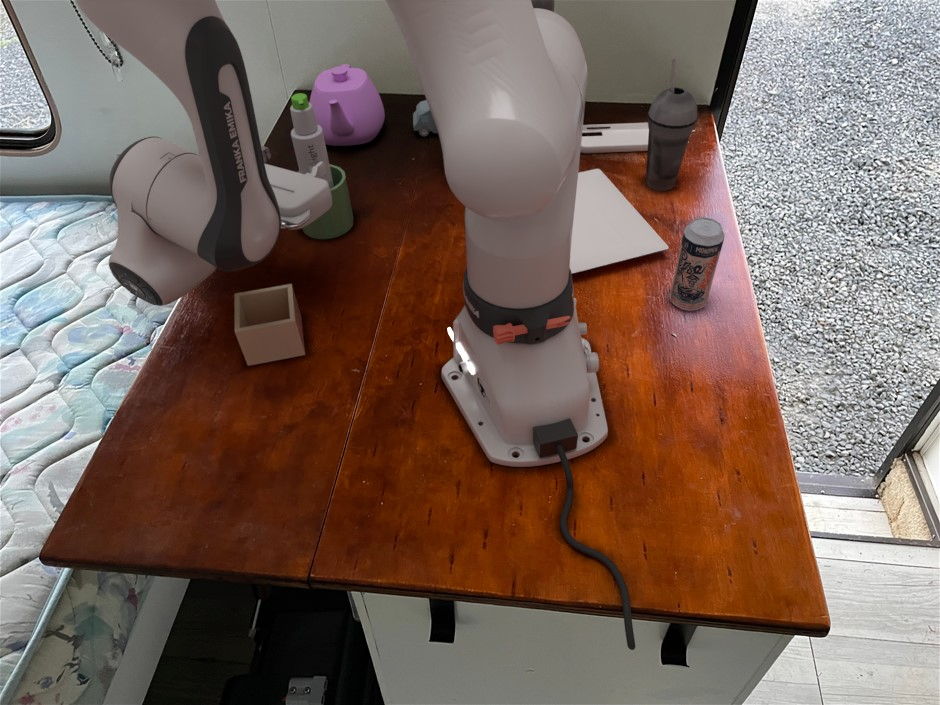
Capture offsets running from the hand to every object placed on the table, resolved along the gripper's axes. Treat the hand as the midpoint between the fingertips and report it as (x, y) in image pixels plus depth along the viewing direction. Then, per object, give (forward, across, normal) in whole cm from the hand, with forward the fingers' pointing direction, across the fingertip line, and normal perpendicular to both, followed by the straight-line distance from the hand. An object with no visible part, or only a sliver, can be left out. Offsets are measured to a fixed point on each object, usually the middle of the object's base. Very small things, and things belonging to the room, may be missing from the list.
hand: (293, 158), depth 97 cm
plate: (+17, -34, +14) cm, 40 cm away
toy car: (+37, -2, +14) cm, 40 cm away
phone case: (+45, -33, +14) cm, 58 cm away
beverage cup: (+35, -43, +14) cm, 57 cm away
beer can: (+9, -54, +14) cm, 57 cm away
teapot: (+28, +12, +14) cm, 33 cm away
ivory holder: (-20, -9, +14) cm, 26 cm away
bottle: (+4, 0, +13) cm, 14 cm away
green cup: (+4, 0, +14) cm, 14 cm away
